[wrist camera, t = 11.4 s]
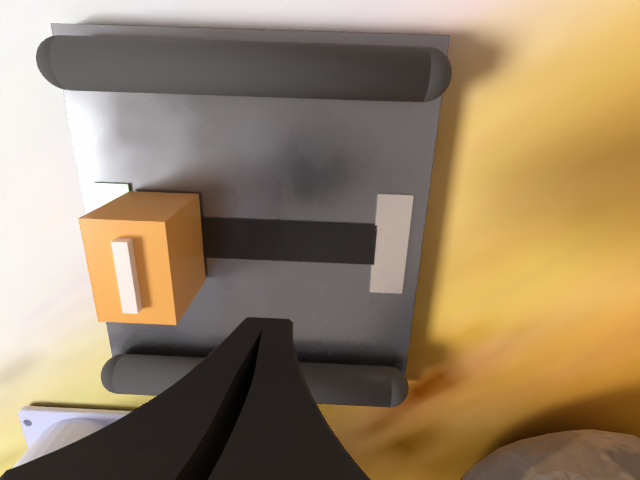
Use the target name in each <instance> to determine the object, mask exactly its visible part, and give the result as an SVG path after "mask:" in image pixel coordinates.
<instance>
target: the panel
mask: <svg viewBox="0 0 640 480" xmlns="http://www.w3.org/2000/svg"><path fill="white" fill-rule="evenodd" d="M51 28H52V34H53V36H56V35H73V36H105V37H137V38H169V39H201V40H233V41H266V42H298V43H330V44H362V45H394V46H426V47H434V48H437V49H439V50H441V51H442V52H443V53H444V54H445V55H446V56H447V51H448V44H449V36H450V35H419V34H386V33H353V32H321V31H288V30H255V29H222V28H190V27H157V26H124V25H91V24H59V23H51ZM63 93H64V98H65V104H66V109H67V114H68V120H69V125H70V131H71V136H72V141H73V147H74V152H75V157H76V163H77V168H78V174H79V179H80V184H81V190H82V195H83V201H84V206H85V211H86V214H88V213H89V212H91V211H93V210H95V209H97V208H99V207H101V206H103V205H104V204H106V203H108V202H110V201H112V200H114V199H116V198H118V197H119V196H121V195H123V194H125V193H127V192H129V191H139V192H164V193H190V194H199V202H200V214H201V227H202V240H203V252H204V265H205V278H206V281H205V282H204V284H203V285H202V287H201V288H200V290H199V291H198V293H197V294H196V296H195V297H194V299H193V300H192V302H191V304H190V305H189V307H188V308H187V310H186V311H185V313H184V314H183V316H182V317H181V319H180V320H179V322H178V324H177V325H163V324H141V323H120V322H106V324H107V330H108V335H109V340H110V346H111V351H112V357H114V356H116V355H120V354H141V355H162V356H183V357H204V358H206V357H207V356H208V355H209V354H210V353H211V352H212V351H213V350H214V349H215V348H216V347H217V346H219V345H220V344H221V343H222V342H223V341H224V340H225V339H226V338H227V337H228V336H229V335H230V334H231V333H232V332H233V331H234V329H235V328H236V327H237V326H238V325H239V324H240V323H241V322H242V321H243V320H244V319H246V318H247V317H258V318H281V319H290V320H291V321H292V322H293V342H294V347H295V351H296V355H297V358H298V361H299V362H309V363H330V364H351V365H372V366H390V367H394V368H397V369H398V370H400V371H401V372H402V373H403V374H404V375H405V371H406V364H407V356H408V348H409V341H410V333H411V326H412V318H413V310H414V303H415V295H416V287H417V280H418V272H419V265H420V257H421V249H422V242H423V234H424V226H425V219H426V211H427V204H428V196H429V188H430V181H431V173H432V166H433V158H434V150H435V143H436V135H437V127H438V120H439V112H440V105H441V97H442V95H441V96H439V97H438V98H437V99H435V100H433V101H429V102H393V101H363V100H334V99H305V98H275V97H246V96H216V95H187V94H158V93H128V92H99V91H71V90H64V89H63Z"/></svg>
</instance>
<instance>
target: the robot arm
mask: <svg viewBox="0 0 640 480" xmlns="http://www.w3.org/2000/svg"><path fill="white" fill-rule="evenodd" d="M18 416H19V420H20V423H21V426H22V429H23V433H24V436H25V439H26V442H27V446H28V449H27V451H26V452H25V453H24V454H23V455H22V457H21V458H20V459H19V460H18V461H17V463H16V464H15V465H14V466H13V467H12V469H9V470H7V471H6V472H5V473H4V474H3V475H2V476H1V477H0V480H370V479H369V478H368V477H367V475H366V474H365V473H364V472H363V471H362V470H361V468H360V467H359V466H358V465H357V464H356V462H355V461H354V460H353V459H352V457H351V456H350V455H349V454H348V452H347V451H346V450H345V449H344V447H343V446H342V444H341V443H340V441H339V440H338V438H337V437H336V435H335V434H334V432H333V431H332V430H331V428H330V427H329V425H328V424H327V422H326V420H325V419H324V417H323V415H322V413H321V412H320V410H319V408H318V406H317V404H316V402H315V400H314V399H313V396H312V394H311V392H310V390H309V388H308V386H307V383H306V381H305V378H304V376H303V373H302V370H301V368H300V365H299V361H298V358H297V355H296V351H295V347H294V342H293V322H292V321H291V320H290V319H281V318H258V317H247V318H246V319H244V320H243V321H242V322H241V323H240V324H239V325H238V326H237V327H236V328H235V329H234V331H233V332H232V333H231V334H230V335H229V336H228V337H227V338H226V339H225V340H224V341H223V342H222V343H221V344H220V345H219V346H217V347H216V348H215V349H214V350H213V351H212V352H211V353H210V354H209V355H208V356H207V357H206V358H205V359H204V360H203V361H201V362H200V363H199V364H198V365H197V366H196V367H194V368H193V369H192V370H191V371H190V372H188V373H187V374H186V375H185V376H184V377H182V378H181V379H180V380H179V381H177V382H176V383H175V384H173V385H172V386H171V387H169V388H168V389H166V390H165V391H163V392H162V393H161V394H159V395H158V396H156V397H155V398H153V399H152V400H150V401H149V402H147V403H145V404H144V405H142V406H140V407H139V408H137V409H135V410H134V411H119V410H99V409H80V408H60V407H40V406H24V407H23V408H22V409H21V410H20V411H19V412H18Z"/></svg>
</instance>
